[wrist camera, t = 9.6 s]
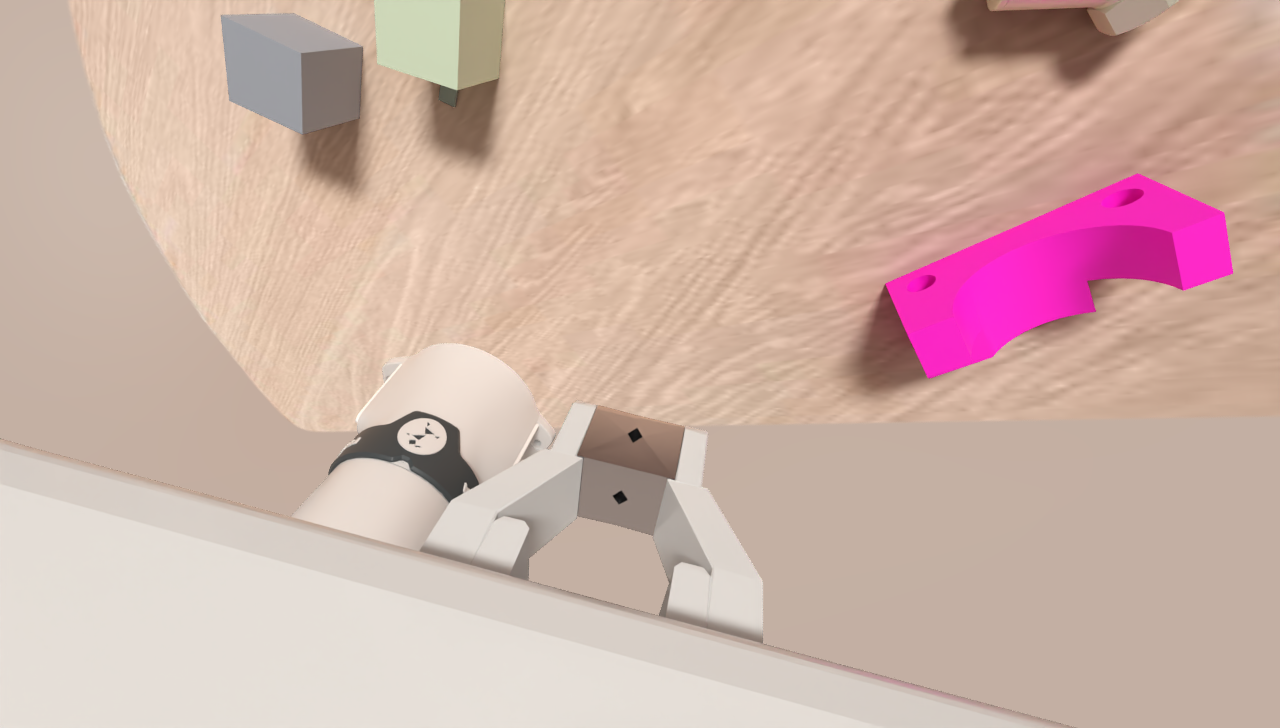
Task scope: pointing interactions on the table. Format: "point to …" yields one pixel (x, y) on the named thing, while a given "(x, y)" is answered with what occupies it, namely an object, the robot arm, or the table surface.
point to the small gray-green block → (448, 95)
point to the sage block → (441, 39)
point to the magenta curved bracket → (1057, 269)
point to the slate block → (292, 70)
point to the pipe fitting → (1097, 11)
